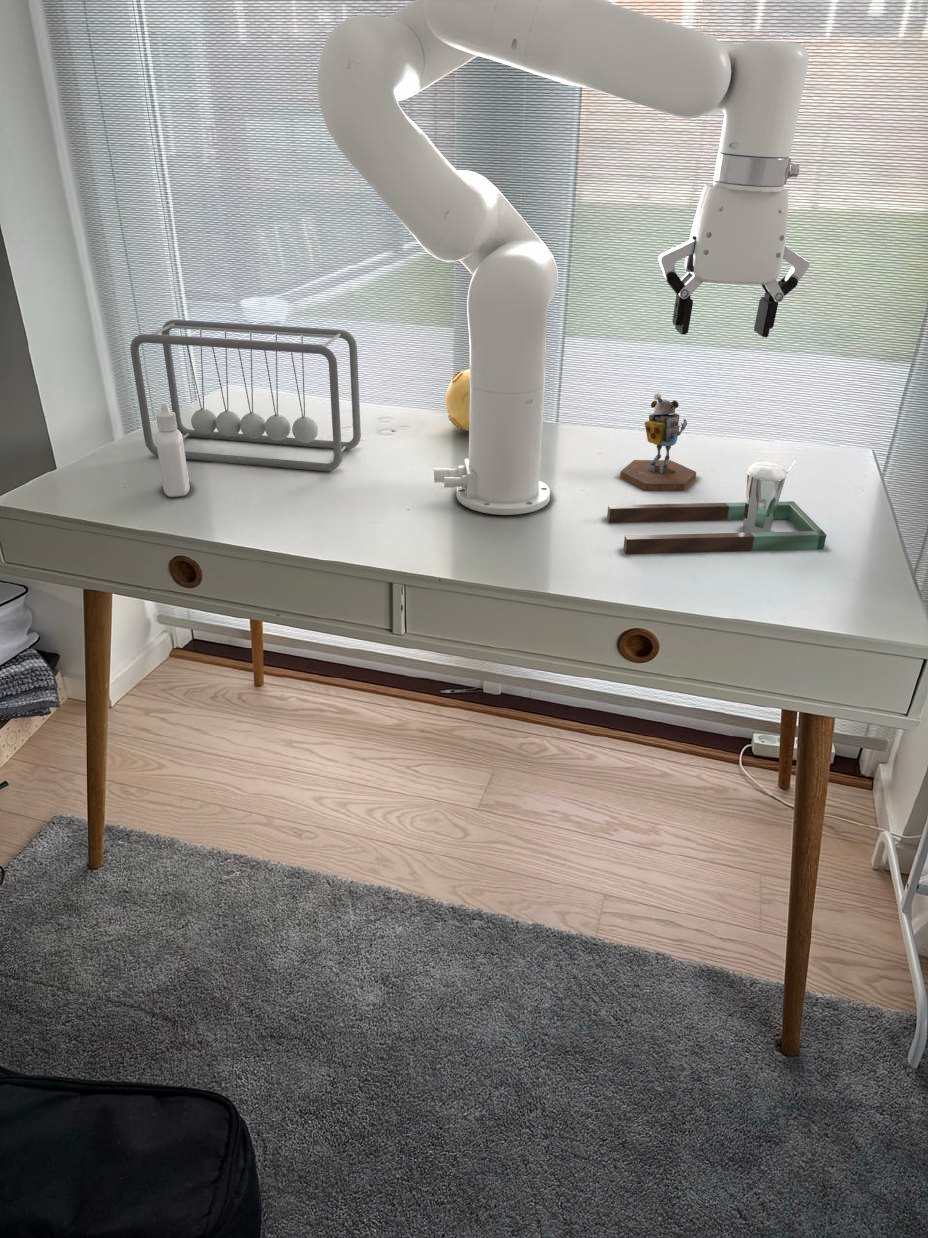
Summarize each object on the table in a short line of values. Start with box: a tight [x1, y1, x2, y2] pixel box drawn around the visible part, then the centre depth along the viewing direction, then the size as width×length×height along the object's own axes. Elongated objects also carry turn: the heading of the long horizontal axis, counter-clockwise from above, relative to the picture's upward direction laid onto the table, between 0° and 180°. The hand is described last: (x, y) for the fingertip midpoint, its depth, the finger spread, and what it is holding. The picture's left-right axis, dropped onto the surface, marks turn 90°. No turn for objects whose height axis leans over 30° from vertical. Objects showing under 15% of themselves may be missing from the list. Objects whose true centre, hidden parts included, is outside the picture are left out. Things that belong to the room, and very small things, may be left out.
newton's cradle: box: [129, 319, 362, 472], centre depth 137 cm, size 30×10×18 cm, turn 79°
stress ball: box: [445, 368, 470, 432], centre depth 150 cm, size 10×10×10 cm
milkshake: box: [742, 458, 797, 533], centre depth 117 cm, size 4×5×10 cm
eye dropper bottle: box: [155, 402, 191, 498], centre depth 126 cm, size 4×6×12 cm
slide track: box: [606, 500, 827, 555], centre depth 118 cm, size 24×10×2 cm, turn 95°
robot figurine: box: [619, 392, 697, 492], centre depth 132 cm, size 11×9×12 cm
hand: (721, 332), depth 112 cm, fingers open, 9 cm apart
